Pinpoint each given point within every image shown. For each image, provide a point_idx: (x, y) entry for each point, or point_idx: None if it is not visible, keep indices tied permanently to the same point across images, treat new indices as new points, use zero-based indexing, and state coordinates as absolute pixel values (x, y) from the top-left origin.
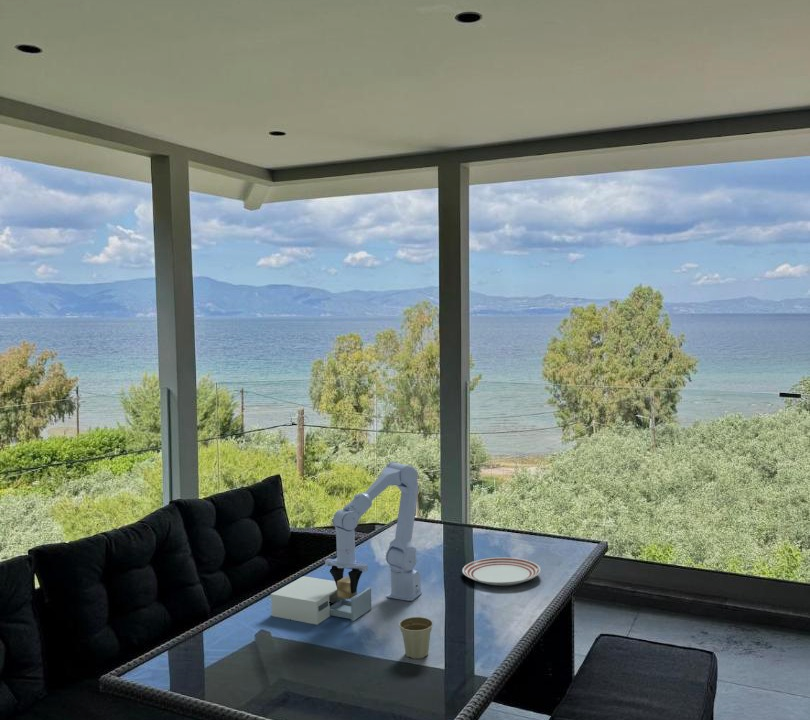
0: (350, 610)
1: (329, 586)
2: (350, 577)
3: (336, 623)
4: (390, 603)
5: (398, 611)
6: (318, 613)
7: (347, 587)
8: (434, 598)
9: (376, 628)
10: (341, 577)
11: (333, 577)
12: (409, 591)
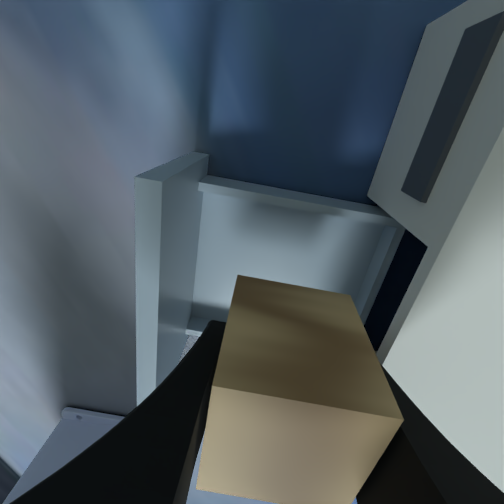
0: (261, 270)
1: (461, 408)
2: (156, 476)
3: (290, 93)
4: (133, 383)
5: (53, 319)
6: (462, 30)
7: (247, 344)
8: (12, 434)
9: (12, 80)
10: (371, 500)
11: (491, 484)
12: (56, 451)
